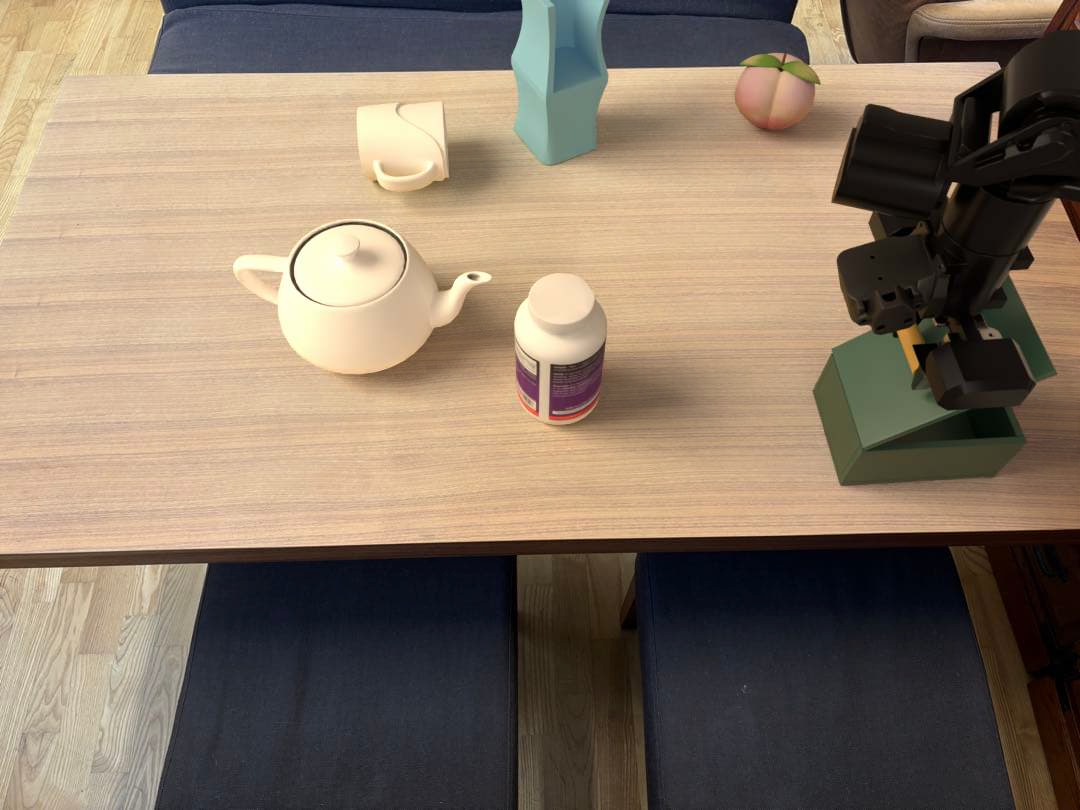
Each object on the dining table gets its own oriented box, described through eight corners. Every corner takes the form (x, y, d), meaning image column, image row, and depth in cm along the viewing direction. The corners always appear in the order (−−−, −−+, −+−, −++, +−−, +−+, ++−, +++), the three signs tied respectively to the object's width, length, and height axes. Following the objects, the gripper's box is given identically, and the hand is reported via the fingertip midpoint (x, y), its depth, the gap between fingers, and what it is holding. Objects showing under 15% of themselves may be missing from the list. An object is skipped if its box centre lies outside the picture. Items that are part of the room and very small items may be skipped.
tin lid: (1007, 270, 69) (989, 243, 66) (1058, 374, 63) (1041, 349, 61) (834, 351, 77) (811, 330, 74) (865, 450, 72) (842, 432, 69)
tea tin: (956, 383, 83) (985, 345, 78) (994, 477, 78) (1027, 442, 72) (812, 390, 82) (831, 353, 77) (839, 485, 77) (862, 451, 72)
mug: (368, 143, 101) (357, 86, 95) (447, 139, 102) (441, 82, 95) (367, 215, 95) (354, 159, 88) (451, 211, 95) (445, 154, 89)
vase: (544, 168, 99) (547, 8, 82) (512, 129, 103) (509, -32, 86) (602, 146, 101) (616, -14, 85) (568, 109, 105) (576, -52, 88)
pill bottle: (609, 373, 83) (623, 275, 71) (585, 439, 79) (595, 347, 67) (532, 351, 85) (532, 251, 73) (504, 415, 81) (499, 320, 68)
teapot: (229, 376, 83) (187, 294, 72) (277, 258, 91) (245, 170, 81) (482, 406, 81) (475, 326, 71) (507, 283, 90) (504, 196, 79)
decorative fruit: (806, 110, 105) (830, 37, 97) (800, 154, 101) (824, 81, 93) (731, 97, 107) (748, 24, 98) (721, 139, 102) (738, 66, 94)
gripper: (831, 140, 62) (785, 282, 75) (908, 344, 52) (839, 467, 65) (983, 130, 62) (910, 274, 75) (1089, 332, 52) (983, 457, 65)
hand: (907, 361), depth 70 cm, fingers closed on tin lid, 5 cm apart
